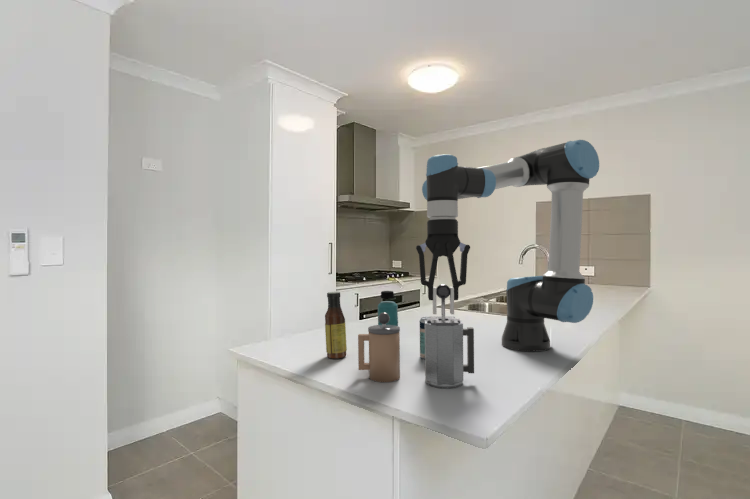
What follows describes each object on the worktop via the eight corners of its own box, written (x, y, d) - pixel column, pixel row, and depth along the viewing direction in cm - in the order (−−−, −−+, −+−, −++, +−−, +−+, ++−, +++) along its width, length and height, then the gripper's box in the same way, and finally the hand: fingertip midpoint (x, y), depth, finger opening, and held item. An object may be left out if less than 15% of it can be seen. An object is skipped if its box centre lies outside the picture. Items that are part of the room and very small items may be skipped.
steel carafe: (470, 376, 104) (470, 316, 104) (476, 389, 95) (476, 323, 95) (424, 375, 105) (424, 316, 105) (426, 388, 96) (425, 323, 96)
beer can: (437, 356, 123) (436, 317, 123) (434, 360, 118) (433, 319, 118) (421, 354, 124) (421, 316, 124) (418, 359, 120) (417, 319, 120)
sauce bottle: (350, 355, 125) (349, 291, 125) (340, 360, 119) (339, 293, 119) (332, 352, 128) (331, 290, 128) (321, 358, 122) (320, 293, 122)
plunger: (455, 359, 103) (454, 282, 103) (458, 367, 97) (457, 285, 96) (430, 359, 104) (429, 283, 103) (431, 366, 97) (430, 285, 97)
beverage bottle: (397, 358, 121) (396, 292, 120) (375, 357, 122) (374, 292, 122) (400, 352, 127) (399, 289, 127) (379, 352, 128) (379, 289, 128)
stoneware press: (400, 372, 108) (399, 309, 108) (400, 382, 100) (399, 315, 100) (360, 371, 109) (360, 309, 109) (357, 382, 101) (356, 315, 101)
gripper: (474, 219, 103) (474, 310, 103) (408, 220, 104) (409, 310, 104) (479, 217, 95) (480, 316, 96) (408, 218, 96) (409, 316, 97)
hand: (443, 313), depth 100 cm, fingers closed on plunger, 4 cm apart
